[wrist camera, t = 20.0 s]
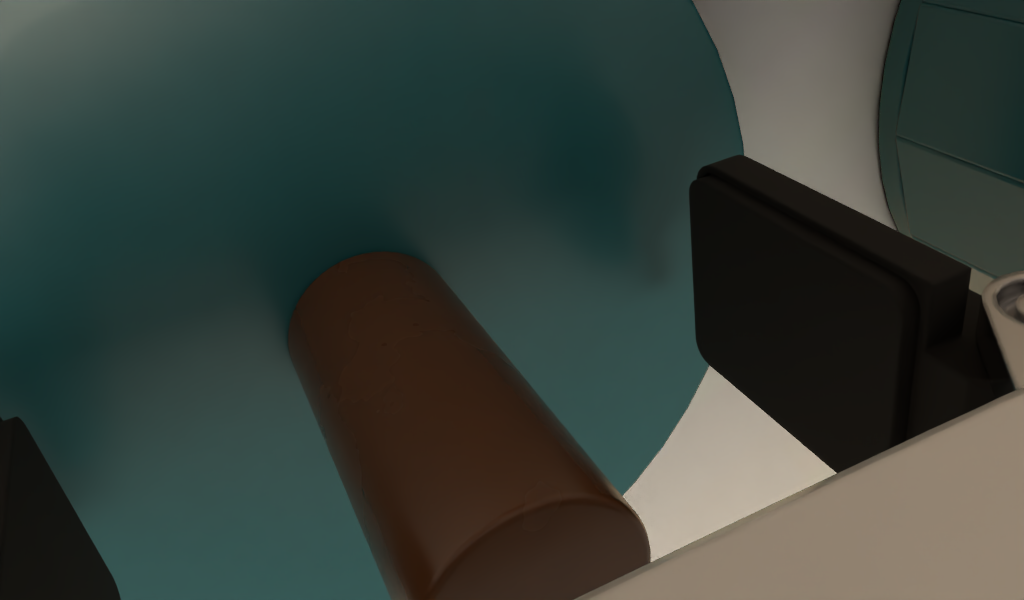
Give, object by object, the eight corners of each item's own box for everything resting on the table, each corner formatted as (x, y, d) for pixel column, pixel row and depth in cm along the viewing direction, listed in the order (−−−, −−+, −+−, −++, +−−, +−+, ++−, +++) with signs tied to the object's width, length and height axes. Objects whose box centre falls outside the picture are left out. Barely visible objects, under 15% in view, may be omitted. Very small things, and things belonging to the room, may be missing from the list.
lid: (-123, -421, 8) (-489, -895, 3) (820, -4, 15) (1261, 98, 9) (-209, 641, 12) (-424, 1284, 7) (557, 602, 19) (755, 918, 13)
